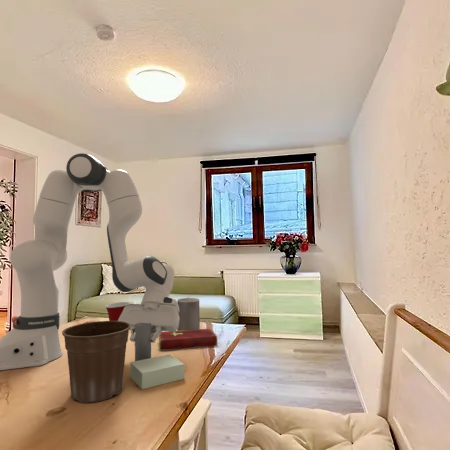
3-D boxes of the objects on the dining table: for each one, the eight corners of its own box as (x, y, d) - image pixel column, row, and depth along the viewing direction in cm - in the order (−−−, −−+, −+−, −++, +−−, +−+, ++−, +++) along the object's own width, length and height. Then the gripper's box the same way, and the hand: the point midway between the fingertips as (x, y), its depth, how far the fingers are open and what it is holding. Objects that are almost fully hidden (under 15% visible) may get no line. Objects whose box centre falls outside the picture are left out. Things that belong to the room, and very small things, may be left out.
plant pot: (58, 413, 73) (60, 339, 74) (62, 386, 88) (63, 324, 89) (134, 399, 80) (135, 331, 81) (125, 376, 95) (126, 318, 96)
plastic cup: (107, 328, 151) (108, 301, 152) (132, 327, 152) (132, 301, 153) (101, 334, 140) (102, 305, 141) (128, 333, 142) (128, 305, 142)
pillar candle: (180, 328, 150) (180, 294, 151) (202, 329, 149) (201, 295, 149) (174, 334, 140) (174, 298, 141) (197, 335, 139) (196, 298, 140)
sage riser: (142, 389, 86) (142, 373, 86) (129, 376, 94) (130, 362, 94) (184, 378, 92) (184, 363, 93) (169, 368, 101) (169, 354, 101)
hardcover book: (217, 346, 124) (217, 335, 124) (159, 351, 118) (159, 339, 119) (210, 338, 135) (210, 327, 135) (157, 342, 130) (157, 331, 130)
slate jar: (137, 366, 102) (138, 326, 103) (132, 362, 106) (133, 323, 107) (153, 363, 105) (153, 324, 106) (147, 359, 109) (147, 321, 110)
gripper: (123, 298, 115) (108, 334, 105) (180, 299, 112) (170, 337, 102) (128, 309, 119) (114, 345, 109) (184, 310, 116) (175, 347, 106)
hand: (142, 341), depth 105 cm, fingers closed on slate jar, 5 cm apart
